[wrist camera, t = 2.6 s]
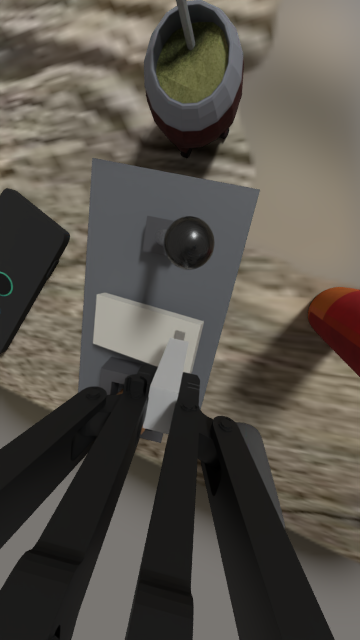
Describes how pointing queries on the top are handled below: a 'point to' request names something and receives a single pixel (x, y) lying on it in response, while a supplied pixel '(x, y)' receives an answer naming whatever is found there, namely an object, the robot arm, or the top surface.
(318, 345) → the top surface
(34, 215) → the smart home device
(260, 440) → the bottle
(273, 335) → the top surface
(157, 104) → the mate gourd
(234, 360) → the top surface
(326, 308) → the paper cup
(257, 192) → the console
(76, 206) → the top surface
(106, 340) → the plate
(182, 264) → the toggle lever
